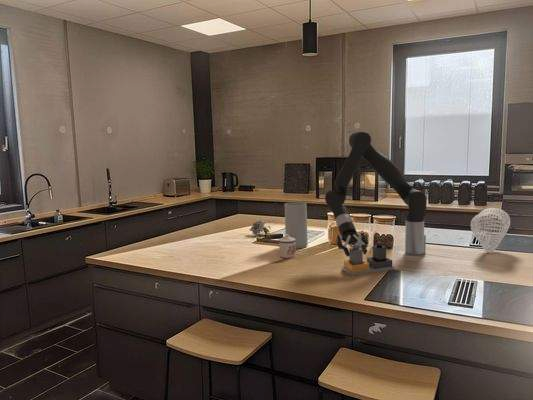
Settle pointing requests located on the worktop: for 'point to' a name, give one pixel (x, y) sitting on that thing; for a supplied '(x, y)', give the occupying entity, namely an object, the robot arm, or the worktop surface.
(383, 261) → the multicoloured piece
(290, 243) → the teacup with lid
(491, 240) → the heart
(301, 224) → the cylinder vase
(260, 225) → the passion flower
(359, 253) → the plug
